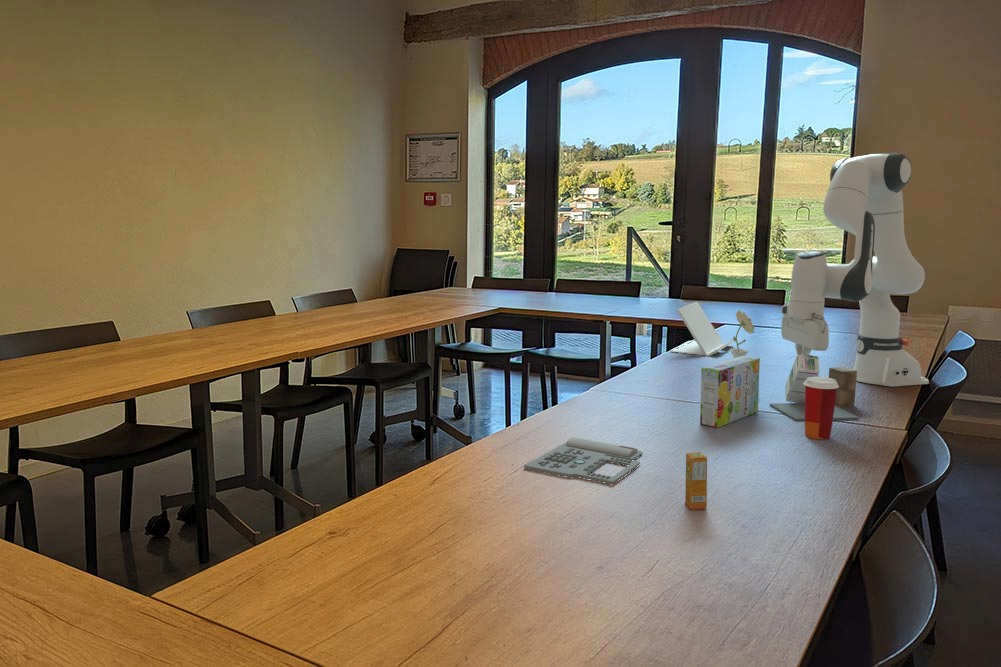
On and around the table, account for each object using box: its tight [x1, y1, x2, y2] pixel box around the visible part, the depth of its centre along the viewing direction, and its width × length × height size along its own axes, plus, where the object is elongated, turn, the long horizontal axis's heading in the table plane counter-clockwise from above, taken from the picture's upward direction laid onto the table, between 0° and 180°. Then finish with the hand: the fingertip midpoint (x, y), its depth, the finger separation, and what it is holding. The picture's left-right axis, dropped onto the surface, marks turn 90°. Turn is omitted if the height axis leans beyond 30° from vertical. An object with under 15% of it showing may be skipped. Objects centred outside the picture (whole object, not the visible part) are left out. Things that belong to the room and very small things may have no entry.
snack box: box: [699, 355, 761, 429], centre depth 195 cm, size 21×6×15 cm, turn 134°
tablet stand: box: [669, 301, 735, 357], centre depth 289 cm, size 18×25×17 cm
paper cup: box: [803, 376, 839, 440], centre depth 180 cm, size 8×8×14 cm
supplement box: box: [684, 451, 708, 510], centre depth 138 cm, size 3×3×10 cm
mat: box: [769, 402, 859, 422], centre depth 202 cm, size 17×15×1 cm
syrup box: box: [785, 353, 820, 403], centre depth 207 cm, size 6×6×14 cm
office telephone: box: [523, 436, 643, 485], centre depth 163 cm, size 23×3×20 cm
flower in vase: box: [729, 309, 755, 358], centre depth 217 cm, size 13×11×25 cm
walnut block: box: [828, 366, 857, 408], centre depth 210 cm, size 5×5×10 cm
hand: (802, 361), depth 208 cm, fingers closed
